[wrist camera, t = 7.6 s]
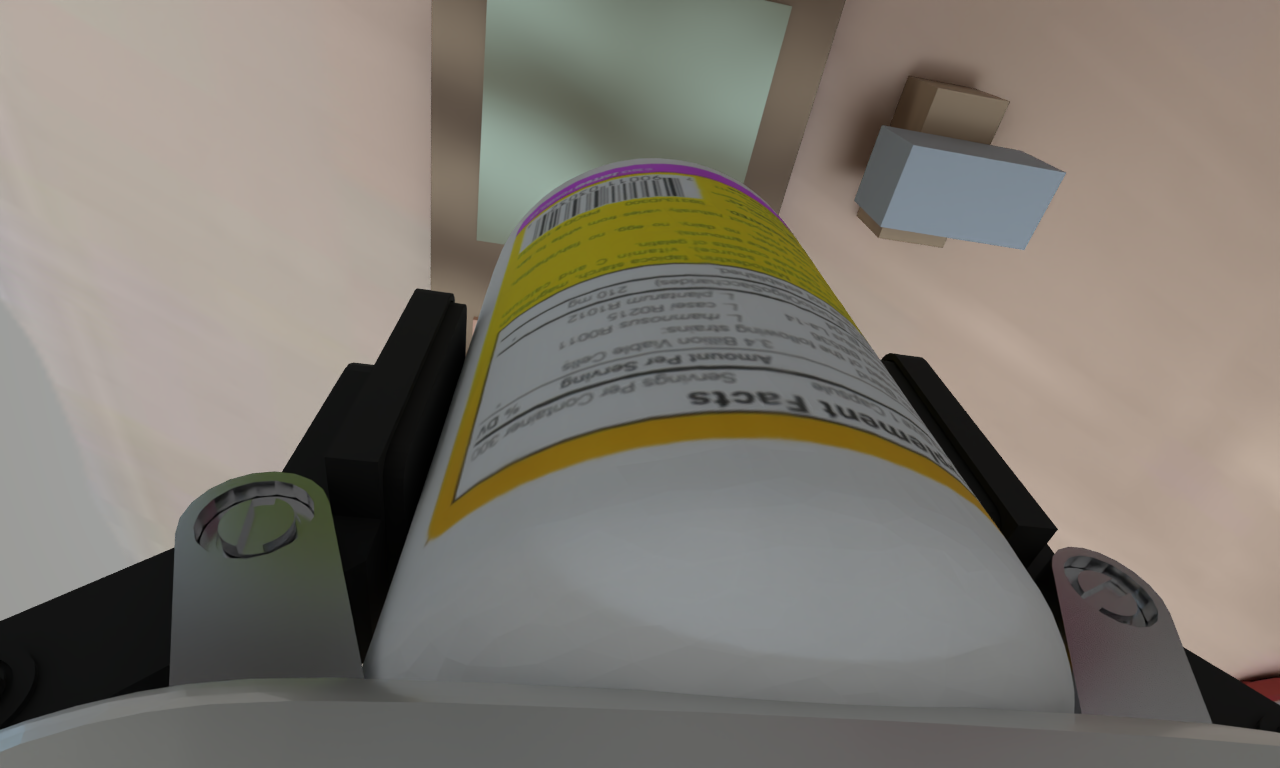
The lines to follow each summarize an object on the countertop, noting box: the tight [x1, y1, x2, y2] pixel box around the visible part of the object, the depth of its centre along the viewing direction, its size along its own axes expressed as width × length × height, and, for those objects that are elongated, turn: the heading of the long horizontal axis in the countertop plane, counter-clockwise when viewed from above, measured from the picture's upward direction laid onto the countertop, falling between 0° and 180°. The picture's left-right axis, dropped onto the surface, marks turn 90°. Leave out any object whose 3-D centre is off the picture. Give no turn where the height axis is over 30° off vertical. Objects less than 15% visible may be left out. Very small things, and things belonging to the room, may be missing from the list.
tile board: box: [431, 0, 846, 354], centre depth 30 cm, size 32×15×1 cm, turn 169°
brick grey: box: [854, 125, 1066, 250], centre depth 25 cm, size 6×3×3 cm, turn 80°
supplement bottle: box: [362, 158, 1075, 714], centre depth 9 cm, size 7×7×13 cm
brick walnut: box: [857, 76, 1010, 248], centre depth 27 cm, size 6×3×3 cm, turn 170°
